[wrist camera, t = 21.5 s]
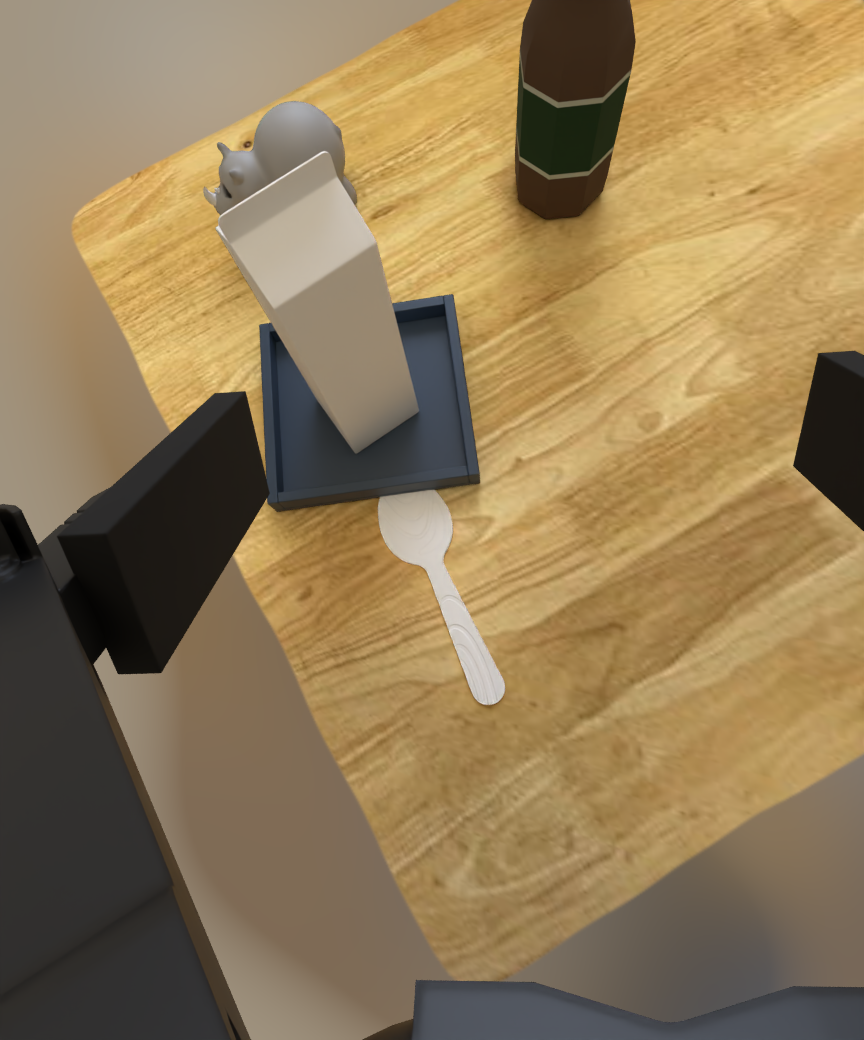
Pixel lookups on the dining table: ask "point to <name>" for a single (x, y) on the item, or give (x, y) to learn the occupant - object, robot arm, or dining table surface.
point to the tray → (395, 456)
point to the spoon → (439, 579)
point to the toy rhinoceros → (278, 153)
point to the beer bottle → (570, 100)
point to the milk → (325, 296)
